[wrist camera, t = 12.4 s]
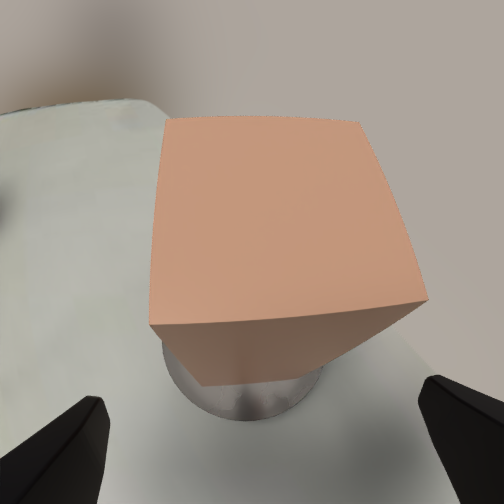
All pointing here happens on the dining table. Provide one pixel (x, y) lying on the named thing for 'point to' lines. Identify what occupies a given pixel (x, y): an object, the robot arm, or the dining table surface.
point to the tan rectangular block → (274, 247)
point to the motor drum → (241, 393)
